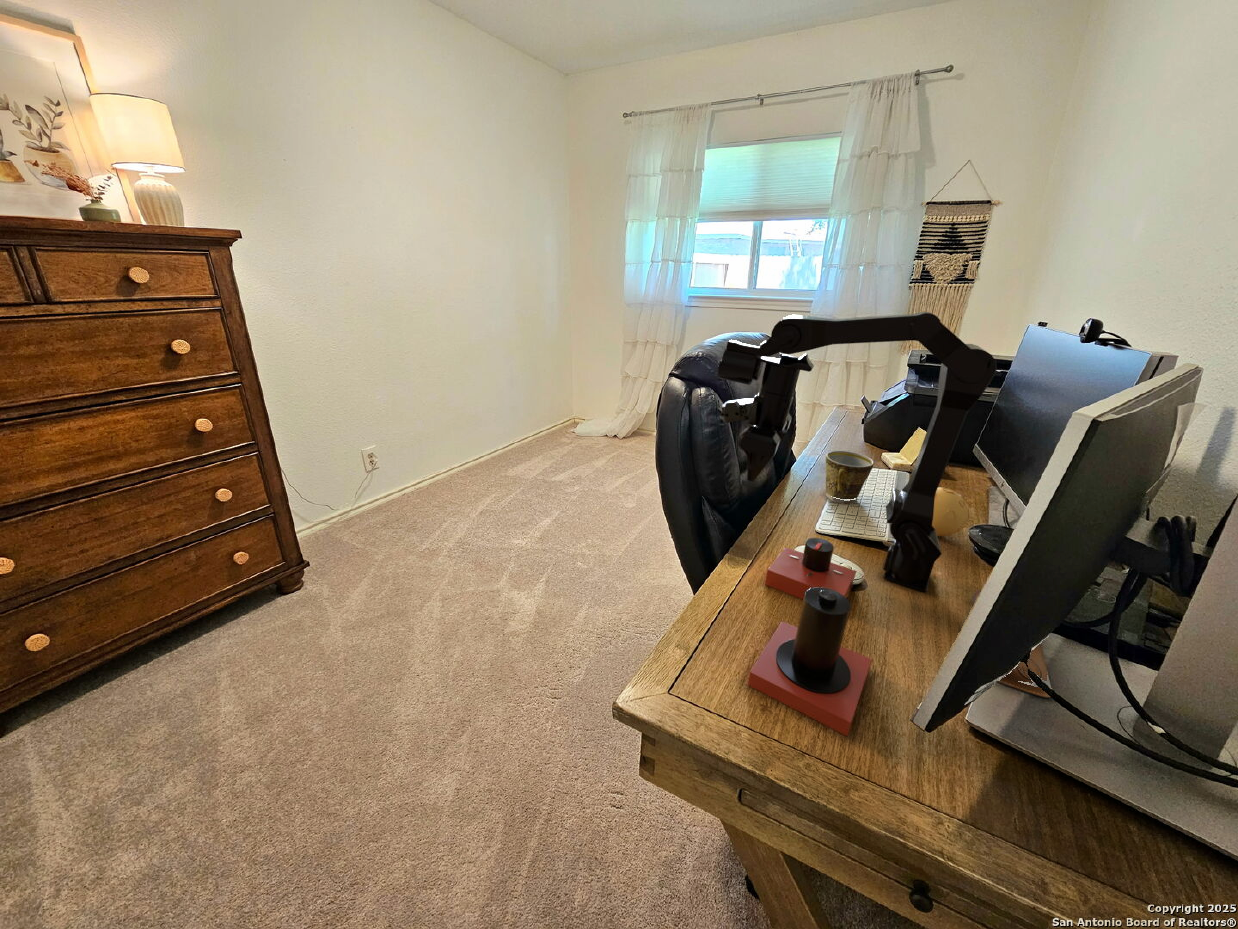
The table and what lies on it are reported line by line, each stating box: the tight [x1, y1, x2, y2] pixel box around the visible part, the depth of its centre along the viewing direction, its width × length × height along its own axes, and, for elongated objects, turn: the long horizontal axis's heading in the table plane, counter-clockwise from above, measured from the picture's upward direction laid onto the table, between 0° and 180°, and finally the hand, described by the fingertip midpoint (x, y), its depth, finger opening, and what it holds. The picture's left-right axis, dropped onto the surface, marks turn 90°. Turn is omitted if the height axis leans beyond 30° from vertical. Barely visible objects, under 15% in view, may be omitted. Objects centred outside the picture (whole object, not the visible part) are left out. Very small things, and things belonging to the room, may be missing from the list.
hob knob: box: [802, 537, 835, 572], centre depth 81 cm, size 4×4×4 cm
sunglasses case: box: [971, 588, 1053, 699], centre depth 69 cm, size 18×7×7 cm, turn 149°
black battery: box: [792, 587, 851, 679], centre depth 60 cm, size 5×5×11 cm
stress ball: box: [932, 486, 970, 537], centre depth 97 cm, size 10×10×10 cm
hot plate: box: [747, 620, 873, 737], centre depth 62 cm, size 12×12×2 cm
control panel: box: [764, 546, 857, 600], centre depth 81 cm, size 12×11×3 cm
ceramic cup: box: [825, 450, 875, 505], centre depth 110 cm, size 13×10×10 cm
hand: (755, 471), depth 90 cm, fingers open, 9 cm apart
